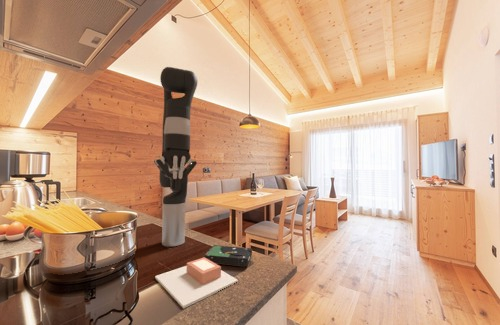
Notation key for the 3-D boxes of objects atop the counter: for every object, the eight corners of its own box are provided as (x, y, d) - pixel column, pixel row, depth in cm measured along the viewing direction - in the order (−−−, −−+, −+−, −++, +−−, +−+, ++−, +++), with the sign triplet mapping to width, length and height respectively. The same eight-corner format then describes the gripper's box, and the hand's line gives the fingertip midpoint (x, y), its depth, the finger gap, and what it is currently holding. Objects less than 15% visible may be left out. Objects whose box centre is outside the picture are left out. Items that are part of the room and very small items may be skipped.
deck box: (202, 284, 54) (220, 276, 58) (202, 273, 54) (220, 266, 58) (186, 272, 60) (204, 266, 64) (186, 262, 60) (204, 257, 64)
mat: (155, 278, 58) (155, 276, 58) (203, 261, 69) (203, 259, 69) (183, 308, 45) (183, 305, 45) (237, 282, 56) (237, 280, 56)
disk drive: (252, 255, 74) (213, 251, 77) (252, 248, 75) (213, 244, 77) (247, 268, 64) (203, 263, 66) (248, 258, 64) (203, 254, 67)
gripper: (159, 129, 54) (157, 194, 54) (203, 135, 63) (201, 191, 63) (150, 132, 60) (147, 191, 59) (191, 138, 69) (189, 189, 68)
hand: (175, 191), depth 61 cm, fingers closed
